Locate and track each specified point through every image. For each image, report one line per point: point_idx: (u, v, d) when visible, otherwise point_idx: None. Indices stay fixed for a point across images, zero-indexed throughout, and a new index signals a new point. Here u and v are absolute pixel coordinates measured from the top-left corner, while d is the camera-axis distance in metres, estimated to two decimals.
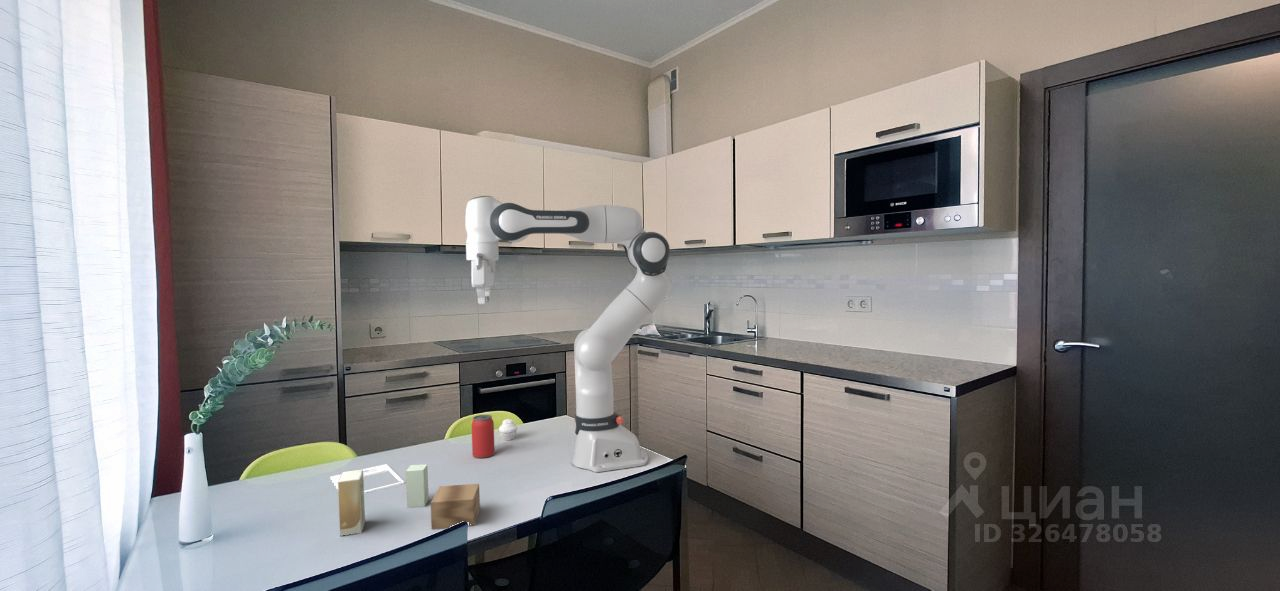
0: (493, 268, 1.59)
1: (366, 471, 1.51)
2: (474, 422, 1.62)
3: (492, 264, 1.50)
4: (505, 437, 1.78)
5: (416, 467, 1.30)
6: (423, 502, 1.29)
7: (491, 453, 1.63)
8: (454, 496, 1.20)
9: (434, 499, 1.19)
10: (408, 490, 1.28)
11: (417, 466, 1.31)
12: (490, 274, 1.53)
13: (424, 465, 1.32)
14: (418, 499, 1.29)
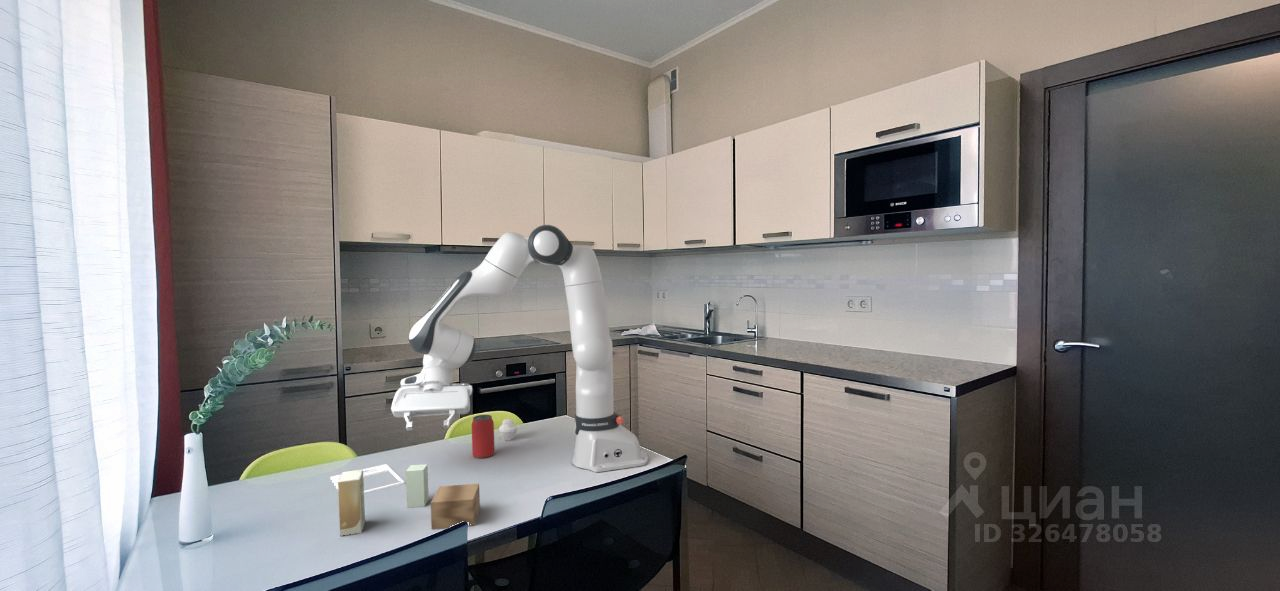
0: None
1: (366, 471, 1.51)
2: (474, 422, 1.62)
3: None
4: (505, 437, 1.78)
5: (416, 467, 1.30)
6: (423, 502, 1.29)
7: (491, 453, 1.63)
8: (454, 496, 1.20)
9: (434, 499, 1.19)
10: (408, 490, 1.28)
11: (417, 466, 1.31)
12: None
13: (424, 465, 1.32)
14: (418, 498, 1.29)
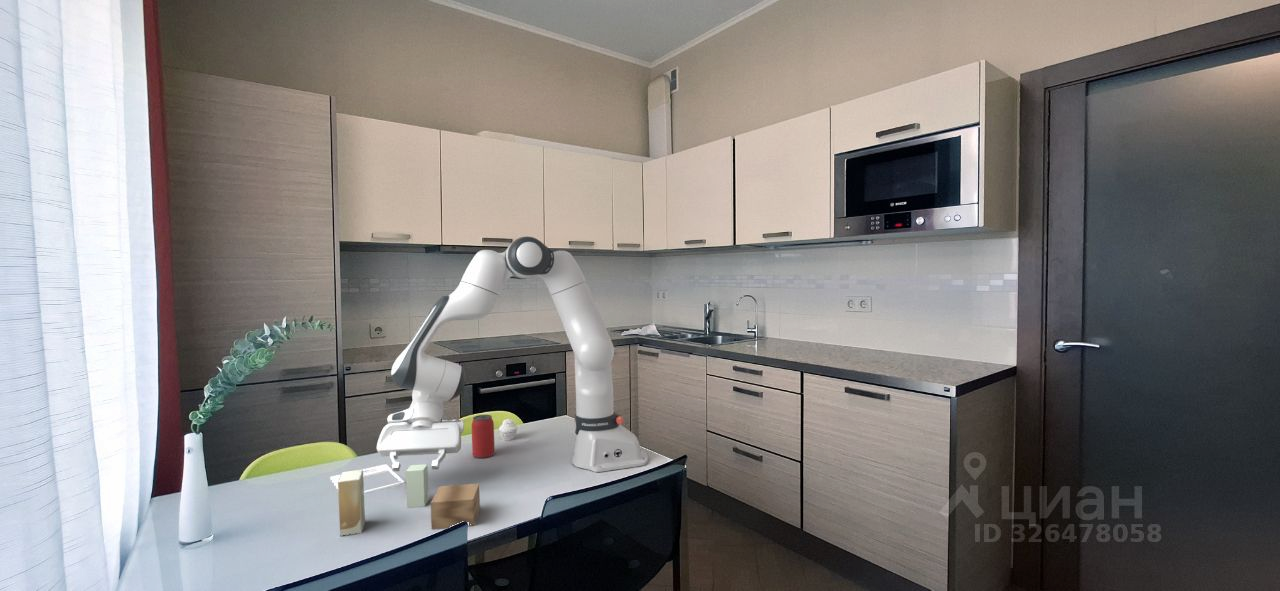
0: None
1: (366, 471, 1.51)
2: (474, 422, 1.62)
3: None
4: (505, 437, 1.78)
5: (416, 467, 1.30)
6: (423, 502, 1.29)
7: (491, 453, 1.63)
8: (454, 496, 1.20)
9: (434, 499, 1.19)
10: (408, 490, 1.28)
11: (417, 466, 1.31)
12: None
13: (424, 465, 1.32)
14: (418, 499, 1.29)
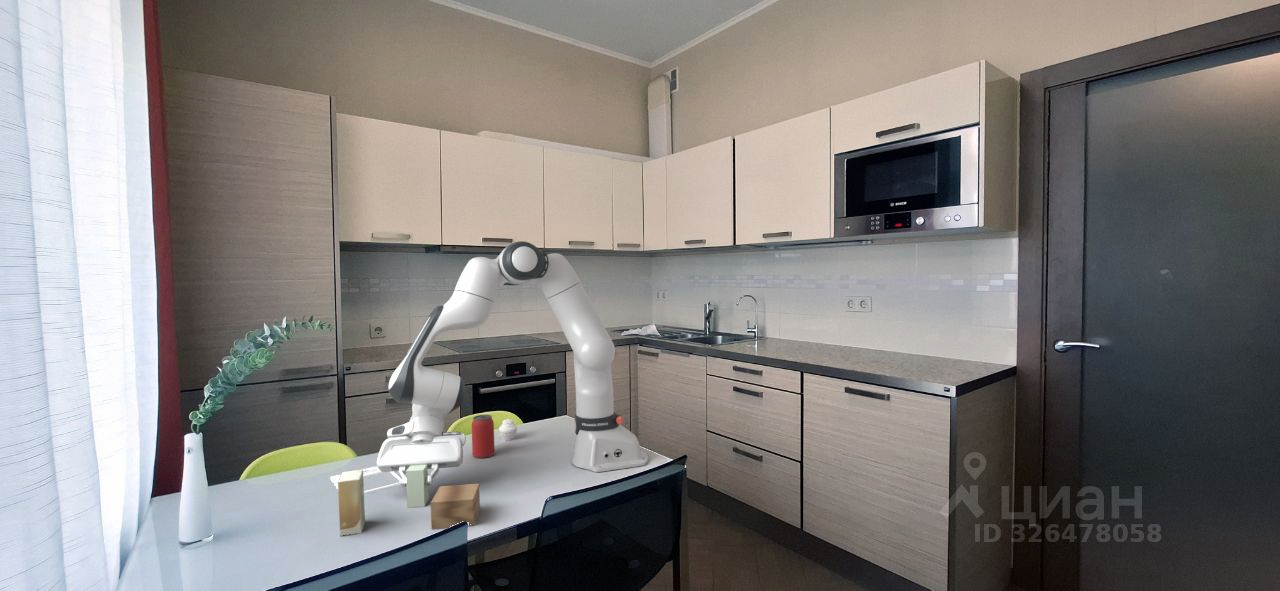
0: None
1: (366, 471, 1.51)
2: (474, 422, 1.62)
3: None
4: (505, 437, 1.78)
5: (416, 467, 1.30)
6: (423, 502, 1.29)
7: (491, 453, 1.63)
8: (454, 496, 1.20)
9: (434, 499, 1.19)
10: (408, 490, 1.28)
11: (417, 466, 1.31)
12: None
13: (424, 465, 1.32)
14: (418, 498, 1.29)
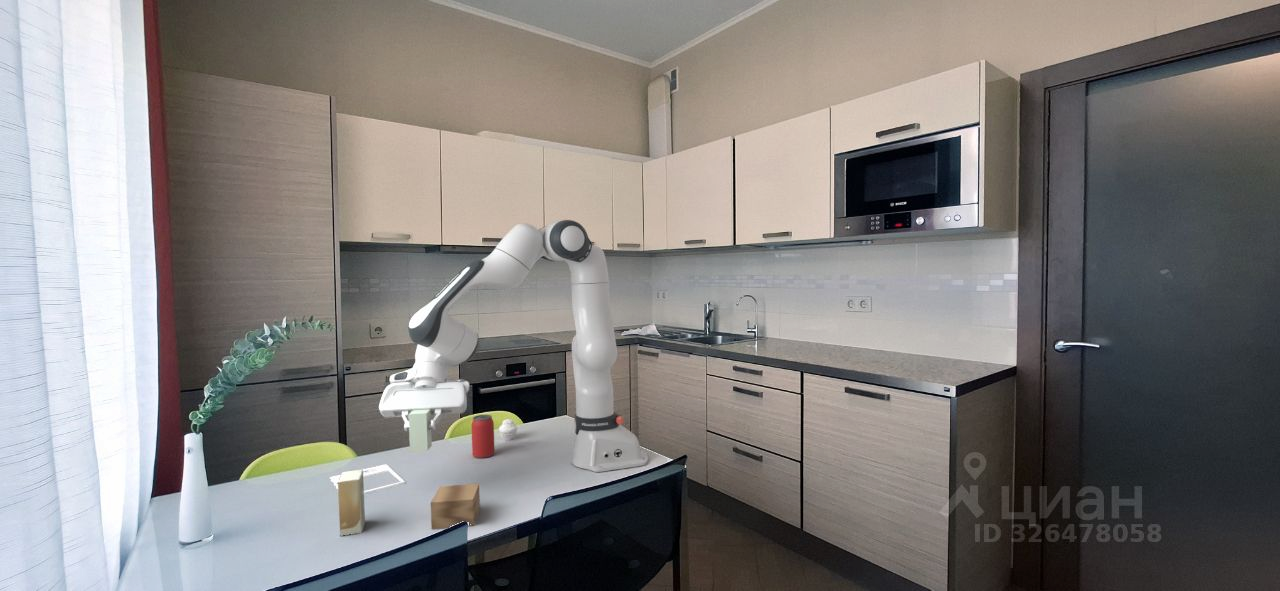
0: None
1: (366, 471, 1.51)
2: (474, 422, 1.62)
3: None
4: (505, 437, 1.78)
5: (419, 411, 1.28)
6: (426, 446, 1.26)
7: (491, 453, 1.63)
8: (454, 496, 1.20)
9: (434, 499, 1.19)
10: (411, 434, 1.26)
11: (420, 410, 1.29)
12: None
13: (427, 410, 1.29)
14: (421, 442, 1.26)
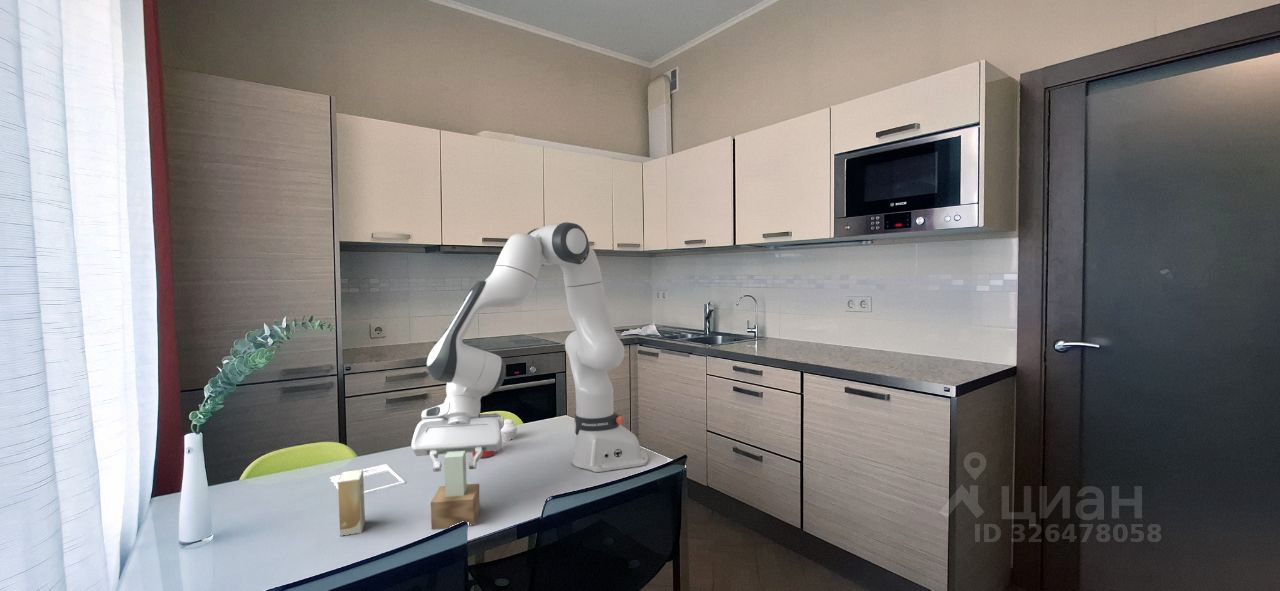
0: None
1: (366, 471, 1.51)
2: None
3: None
4: (505, 437, 1.78)
5: (454, 453, 1.22)
6: (462, 491, 1.20)
7: (491, 453, 1.63)
8: (454, 496, 1.20)
9: (434, 499, 1.19)
10: (446, 478, 1.20)
11: (455, 452, 1.22)
12: None
13: (462, 451, 1.23)
14: (457, 487, 1.20)
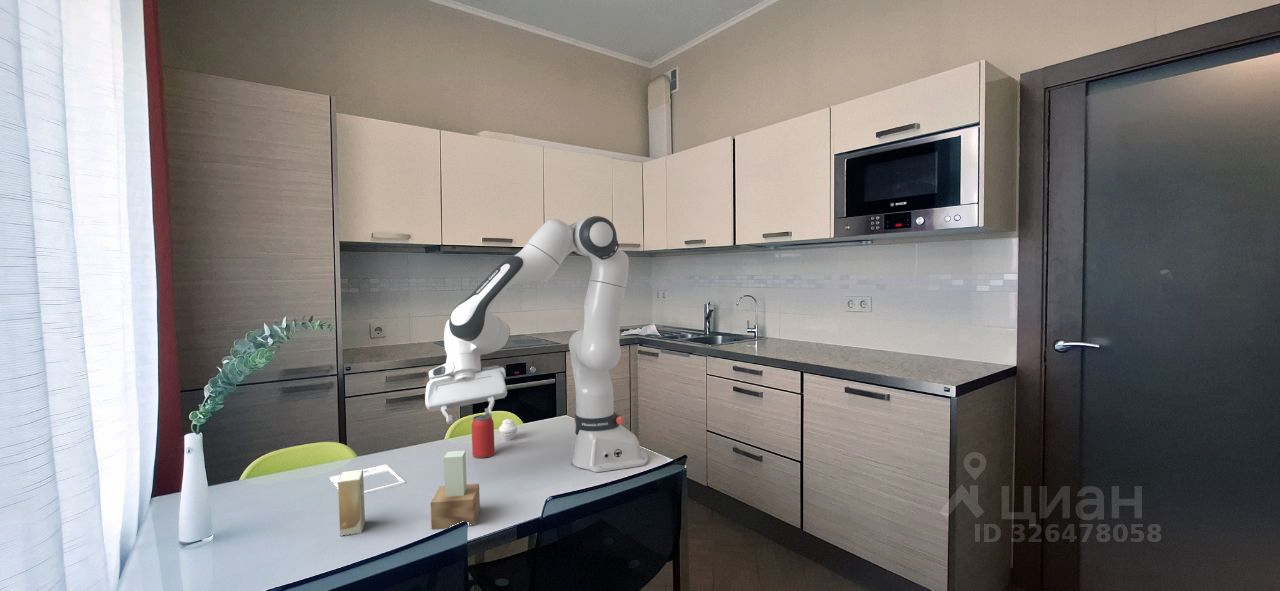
0: None
1: (366, 471, 1.51)
2: (474, 422, 1.62)
3: None
4: (505, 437, 1.78)
5: (454, 453, 1.22)
6: (462, 491, 1.20)
7: (491, 453, 1.63)
8: (454, 496, 1.20)
9: (434, 499, 1.19)
10: (446, 478, 1.20)
11: (455, 452, 1.22)
12: None
13: (462, 451, 1.23)
14: (457, 487, 1.20)
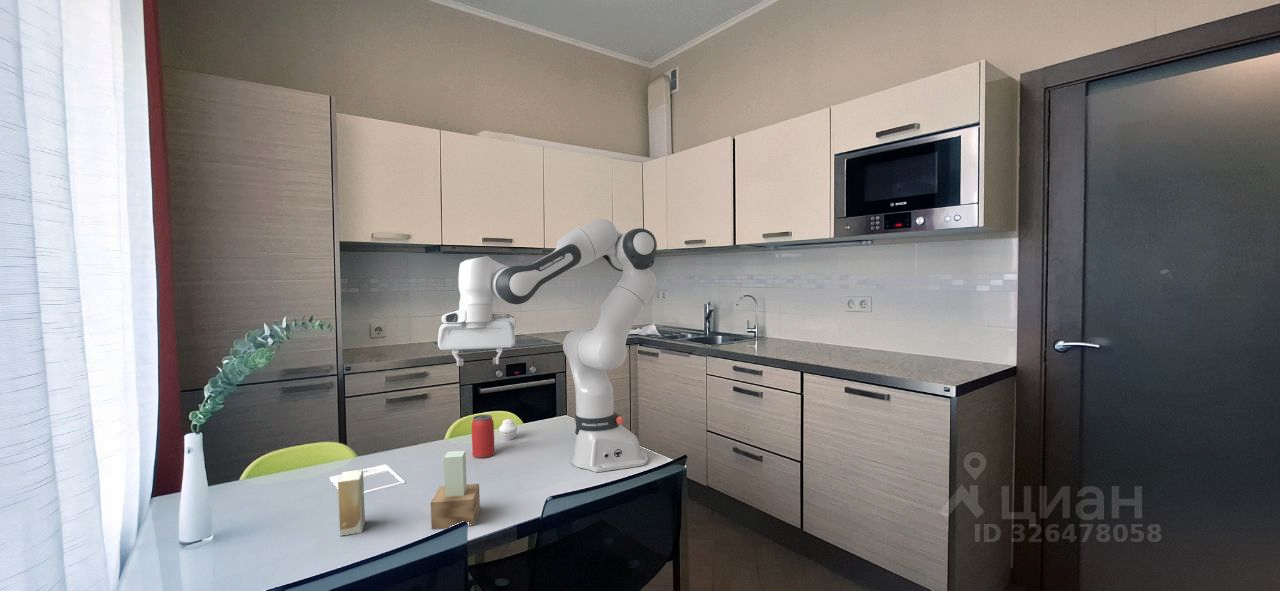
0: None
1: (366, 471, 1.51)
2: (474, 422, 1.62)
3: None
4: (505, 437, 1.78)
5: (454, 453, 1.22)
6: (462, 491, 1.20)
7: (491, 453, 1.63)
8: (454, 496, 1.20)
9: (434, 499, 1.19)
10: (446, 478, 1.20)
11: (455, 452, 1.22)
12: None
13: (462, 451, 1.23)
14: (457, 487, 1.20)
